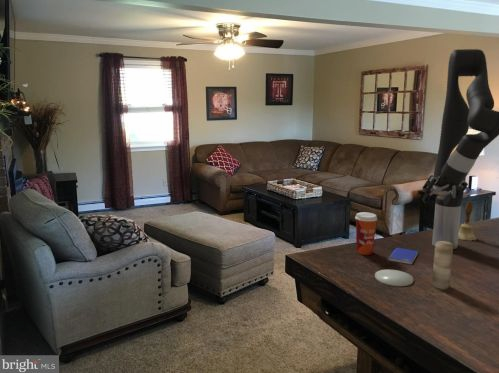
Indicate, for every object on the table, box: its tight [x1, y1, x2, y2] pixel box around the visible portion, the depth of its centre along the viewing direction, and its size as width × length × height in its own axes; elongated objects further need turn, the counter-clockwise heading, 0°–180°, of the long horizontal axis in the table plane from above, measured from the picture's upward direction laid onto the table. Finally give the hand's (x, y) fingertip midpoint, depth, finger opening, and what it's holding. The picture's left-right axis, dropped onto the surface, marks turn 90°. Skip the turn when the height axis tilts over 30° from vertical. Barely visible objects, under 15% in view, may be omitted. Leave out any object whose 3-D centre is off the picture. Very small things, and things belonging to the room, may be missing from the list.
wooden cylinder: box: [431, 241, 454, 291], centre depth 131 cm, size 5×5×14 cm
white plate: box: [374, 269, 414, 287], centre depth 138 cm, size 12×12×1 cm
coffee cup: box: [354, 211, 378, 256], centre depth 160 cm, size 8×8×15 cm
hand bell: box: [458, 200, 477, 242], centre depth 177 cm, size 8×8×16 cm
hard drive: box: [387, 247, 419, 265], centre depth 157 cm, size 2×8×12 cm
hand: (434, 203), depth 146 cm, fingers open, 8 cm apart
